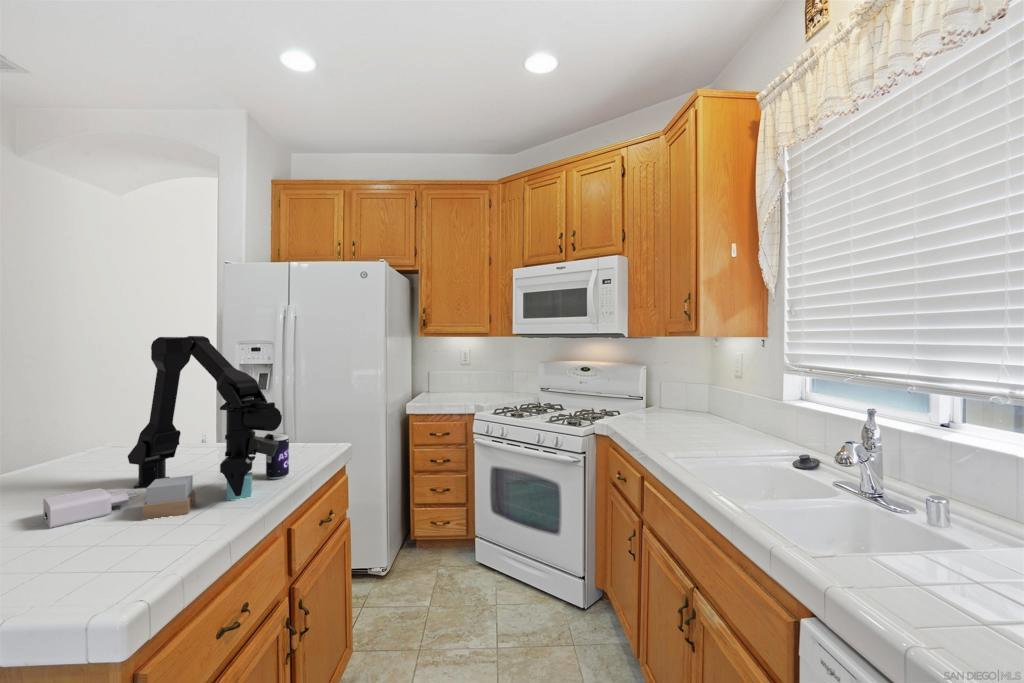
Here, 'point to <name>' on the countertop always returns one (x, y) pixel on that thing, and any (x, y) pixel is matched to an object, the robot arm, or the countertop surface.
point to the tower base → (169, 508)
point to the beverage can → (279, 458)
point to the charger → (81, 506)
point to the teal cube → (245, 490)
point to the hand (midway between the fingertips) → (239, 491)
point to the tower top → (169, 489)
